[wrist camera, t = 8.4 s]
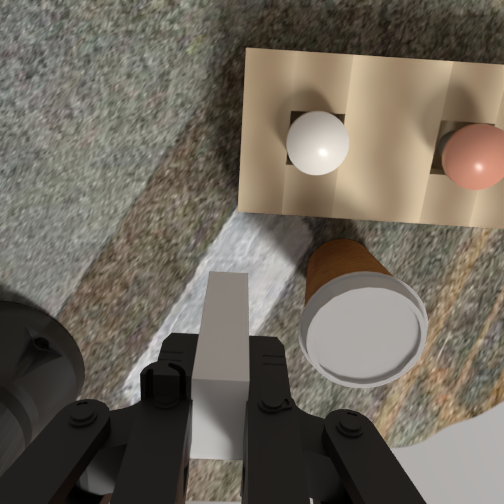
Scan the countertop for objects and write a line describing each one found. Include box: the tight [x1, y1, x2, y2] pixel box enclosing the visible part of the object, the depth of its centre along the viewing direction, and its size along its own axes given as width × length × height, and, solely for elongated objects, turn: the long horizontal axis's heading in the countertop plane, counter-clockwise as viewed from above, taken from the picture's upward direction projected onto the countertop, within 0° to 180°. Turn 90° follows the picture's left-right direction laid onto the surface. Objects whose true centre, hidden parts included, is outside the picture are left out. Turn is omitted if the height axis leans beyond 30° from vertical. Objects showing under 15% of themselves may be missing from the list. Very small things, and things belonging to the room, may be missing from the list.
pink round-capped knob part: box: [438, 123, 504, 190], centre depth 34 cm, size 4×4×5 cm
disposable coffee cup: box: [298, 239, 428, 388], centre depth 39 cm, size 10×10×12 cm
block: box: [238, 48, 504, 229], centre depth 37 cm, size 22×12×5 cm, turn 87°
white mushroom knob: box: [286, 111, 349, 175], centre depth 35 cm, size 4×4×5 cm
